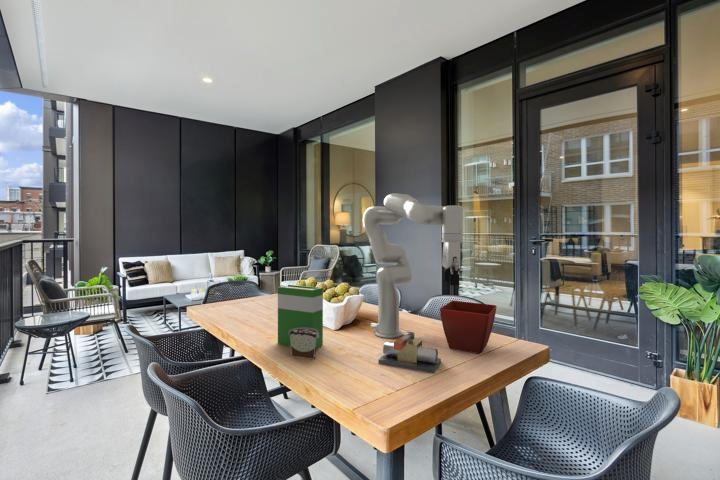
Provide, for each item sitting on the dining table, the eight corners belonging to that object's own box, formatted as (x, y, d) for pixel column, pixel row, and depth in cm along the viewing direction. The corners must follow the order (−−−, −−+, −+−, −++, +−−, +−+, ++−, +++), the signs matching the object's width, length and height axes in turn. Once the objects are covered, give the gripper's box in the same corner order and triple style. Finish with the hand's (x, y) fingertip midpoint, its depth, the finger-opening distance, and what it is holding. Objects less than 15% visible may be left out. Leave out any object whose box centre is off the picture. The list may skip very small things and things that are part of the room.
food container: (324, 354, 139) (324, 328, 138) (317, 359, 133) (317, 333, 132) (296, 350, 143) (296, 325, 142) (288, 355, 137) (288, 329, 136)
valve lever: (407, 337, 132) (407, 331, 132) (415, 338, 131) (415, 332, 130) (393, 349, 118) (393, 342, 118) (401, 350, 117) (401, 343, 117)
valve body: (378, 363, 129) (378, 339, 129) (389, 354, 139) (389, 331, 139) (433, 373, 121) (433, 347, 121) (441, 362, 131) (441, 338, 130)
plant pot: (488, 358, 135) (489, 314, 135) (438, 350, 145) (439, 308, 144) (496, 344, 152) (497, 305, 151) (451, 337, 161) (451, 300, 161)
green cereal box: (277, 343, 152) (277, 286, 151) (288, 338, 158) (288, 284, 158) (312, 350, 144) (312, 290, 143) (322, 344, 150) (322, 287, 150)
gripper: (437, 237, 145) (437, 279, 146) (447, 238, 128) (446, 286, 128) (456, 237, 145) (455, 280, 145) (468, 239, 128) (467, 287, 128)
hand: (451, 283), depth 137 cm, fingers open, 9 cm apart
